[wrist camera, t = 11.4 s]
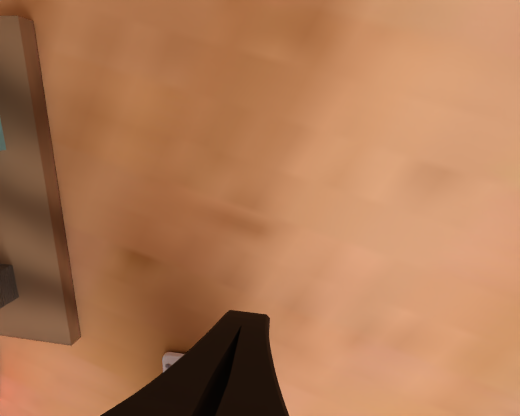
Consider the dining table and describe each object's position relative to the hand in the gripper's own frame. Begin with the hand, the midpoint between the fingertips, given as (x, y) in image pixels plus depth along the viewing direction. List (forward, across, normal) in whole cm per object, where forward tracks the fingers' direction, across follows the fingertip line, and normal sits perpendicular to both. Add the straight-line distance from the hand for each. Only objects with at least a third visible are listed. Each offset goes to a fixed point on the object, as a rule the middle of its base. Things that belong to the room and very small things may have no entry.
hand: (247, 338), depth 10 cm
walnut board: (+10, +20, -1) cm, 22 cm away
